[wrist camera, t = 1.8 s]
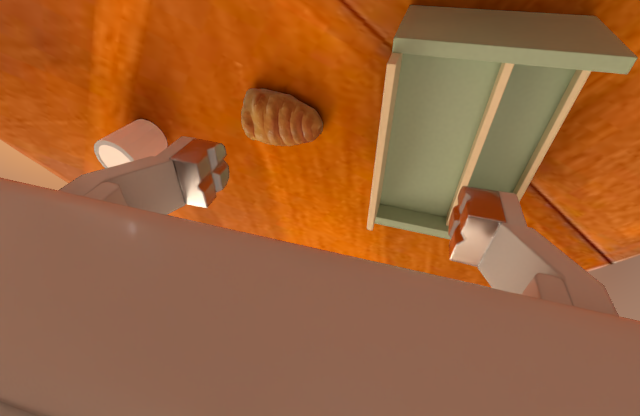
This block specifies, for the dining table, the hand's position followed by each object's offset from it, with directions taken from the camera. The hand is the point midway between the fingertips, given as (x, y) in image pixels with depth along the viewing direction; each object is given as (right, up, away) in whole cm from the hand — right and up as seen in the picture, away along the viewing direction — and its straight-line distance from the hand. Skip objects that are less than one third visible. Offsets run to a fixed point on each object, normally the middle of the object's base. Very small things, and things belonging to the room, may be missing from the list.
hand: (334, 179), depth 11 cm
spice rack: (+14, +9, +22) cm, 27 cm away
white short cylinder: (-26, +10, +38) cm, 47 cm away
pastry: (-5, +11, +28) cm, 31 cm away
